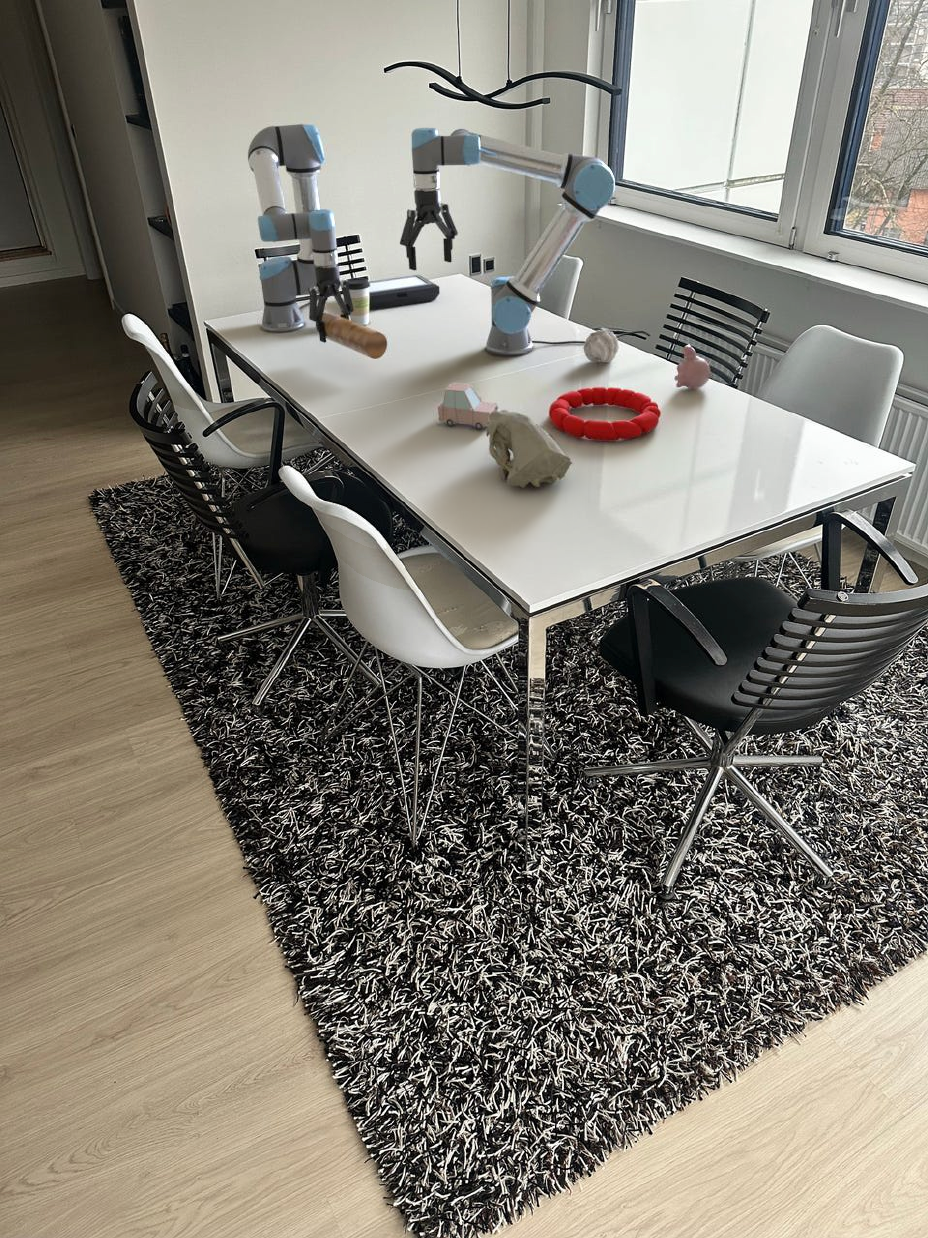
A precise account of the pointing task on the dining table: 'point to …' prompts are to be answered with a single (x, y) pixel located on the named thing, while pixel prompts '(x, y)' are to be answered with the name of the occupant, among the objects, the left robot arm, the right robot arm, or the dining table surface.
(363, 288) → the coffee cup
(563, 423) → the decorative ring
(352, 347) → the brown cylinder
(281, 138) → the left robot arm
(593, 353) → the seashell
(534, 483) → the grey irregular stone chunk
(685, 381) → the figurine
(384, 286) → the electronic device
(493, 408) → the toy car
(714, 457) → the dining table surface
